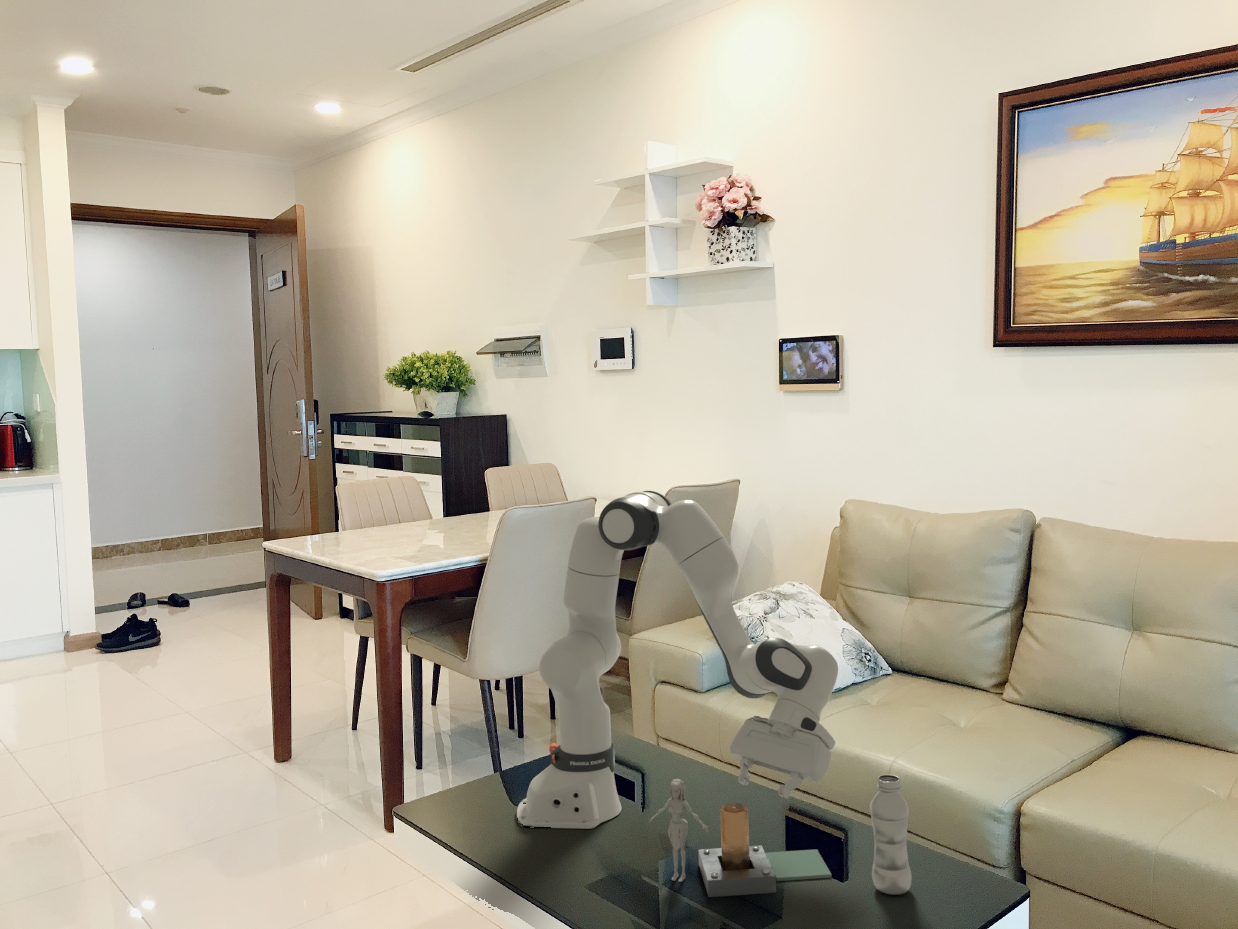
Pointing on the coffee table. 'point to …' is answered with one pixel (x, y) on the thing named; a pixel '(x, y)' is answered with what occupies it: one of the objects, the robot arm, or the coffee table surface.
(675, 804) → the human figurine
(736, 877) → the housing
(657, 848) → the coffee table surface
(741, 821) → the copper plug
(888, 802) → the plastic bottle
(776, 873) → the mat
